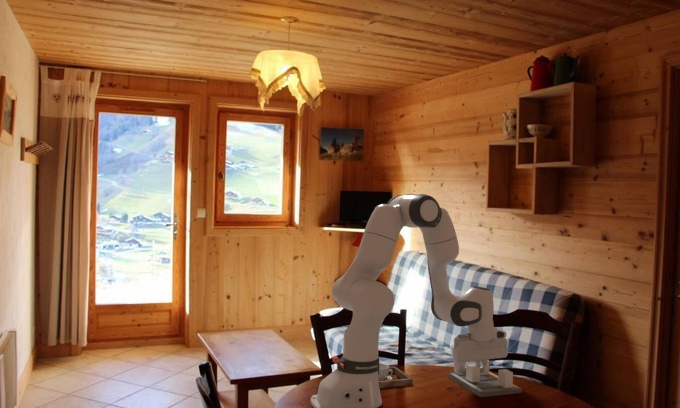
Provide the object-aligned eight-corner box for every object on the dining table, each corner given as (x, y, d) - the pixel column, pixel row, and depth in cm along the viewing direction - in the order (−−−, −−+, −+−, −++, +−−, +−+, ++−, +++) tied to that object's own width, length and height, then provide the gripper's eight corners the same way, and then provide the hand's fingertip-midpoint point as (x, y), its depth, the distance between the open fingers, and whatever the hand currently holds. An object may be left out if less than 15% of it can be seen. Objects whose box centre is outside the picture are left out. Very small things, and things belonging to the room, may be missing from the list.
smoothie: (448, 373, 204) (449, 335, 204) (453, 368, 210) (454, 332, 210) (465, 376, 201) (466, 338, 201) (470, 371, 207) (471, 334, 207)
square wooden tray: (372, 388, 186) (372, 382, 186) (357, 374, 200) (357, 369, 200) (412, 384, 190) (412, 379, 190) (394, 371, 204) (395, 366, 204)
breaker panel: (480, 397, 180) (480, 377, 180) (448, 377, 200) (448, 359, 200) (521, 392, 185) (522, 373, 185) (486, 373, 205) (486, 356, 205)
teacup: (361, 382, 193) (362, 368, 193) (367, 373, 202) (368, 360, 202) (389, 385, 190) (390, 371, 190) (394, 376, 200) (395, 363, 200)
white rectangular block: (472, 382, 188) (472, 367, 188) (465, 378, 192) (466, 364, 192) (479, 381, 189) (480, 367, 189) (473, 377, 193) (473, 363, 193)
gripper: (458, 337, 185) (458, 378, 185) (510, 332, 192) (510, 371, 192) (449, 332, 191) (449, 372, 191) (499, 328, 198) (499, 366, 198)
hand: (480, 372), depth 192 cm, fingers closed
